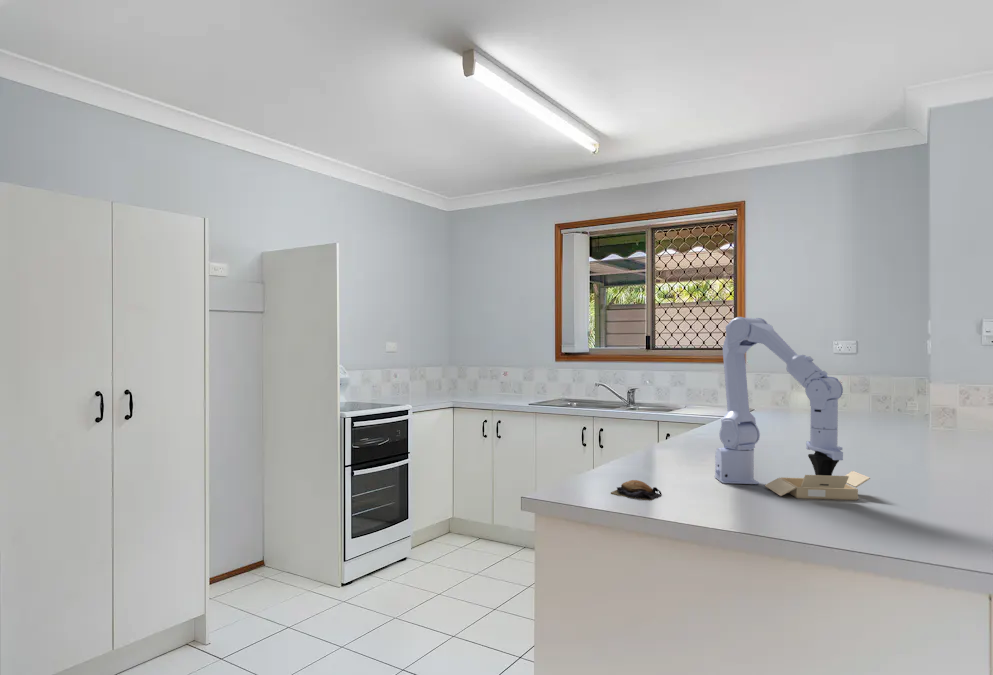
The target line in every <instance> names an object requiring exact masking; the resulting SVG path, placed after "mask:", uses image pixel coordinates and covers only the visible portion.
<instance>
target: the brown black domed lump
mask: <svg viewBox="0 0 993 675" xmlns="http://www.w3.org/2000/svg"><path fill="white" fill-rule="evenodd" d="M610 495H613V496H620V497H624V498H625V497H626V498H630V499H637V500H643V501H653V500H656V499H657V498H660V497H662V491H661V490H660V489H658V488H657V486H655V487H653V488H652V487H651V486H649V484H647V483H645V482H643V481H641V480H637V479H632V480H628V481H625V482H622V483H621V485H620V486H618V487H617V486H616V490H613V491H611V492H610Z"/></svg>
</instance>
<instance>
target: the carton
mask: <svg viewBox="0 0 993 675" xmlns="http://www.w3.org/2000/svg"><path fill="white" fill-rule="evenodd" d="M803 479H804V477H777V478H776V479H774V480H772V481H770V482H768V483H765V484H764V487H765V488H767V489H769V490H770V491H772V492H773V493H774V494H777V495H779V496H780V497H782V496H784V495H786V494H789V495H791V496H792V497H794V498H795V499H804V500H805V499H807V500H839V501H840V500H841V501H842V500H843V501H858V500H859V489H858V488H857V487H853V486H851V485H849V484H847V483H846V485H845V487H844V488H811V487H801V484H802V482H803Z"/></svg>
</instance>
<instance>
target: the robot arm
mask: <svg viewBox="0 0 993 675" xmlns="http://www.w3.org/2000/svg"><path fill="white" fill-rule="evenodd" d="M725 334H726V336H725V338H724V341H723V345H722V358H723V369H724V371H723V372H724V383H725V396H726V398H725V399H726V406H727V407H726V408H727V412H726V413H725V415H724V416H722V419H721V426H720V430H719V439H720V441H721V443H722V445H723V447H717V448H716V450H715V458H714V460H715V461H714V463H715V465H714V466H715V467H714V469H715V470H714V478H715V479H716V480H718V481H719V482H720V483H722V484H739V485H742V484H744V485H760V482H759V481H757V480H756V479H755V478H754V477H755V476H754V475H755V472H754V471H755V470H754V469H755V467H754V465H755V448H756V444H757V443H758V442H759V441H760V437H761V433H760V429H759V428H758V426H757V422H756V417H755V416H754V415H753V414H752V413H751V411H750V403H749V393H748V392H749V389H748V380H747V379H748V378H747V369H746V367H747V366H746V356H745V354H746V353H747V352H748V351H749V350H750V349H751V347H753V346H756V345H757V344H760V345H761V344H762V345H764V346H765V347H766V348H767V349H769V351H771V352H772V353H773V354H774V355H776V356H777V357H778V358H779V359H781V361H783V362H784V363H785V364H786V371H787V372H788V374H789V375H791V376H792V377H793V378H794V380H796V381H797V382H798V384H800V385H801V386H802V387H803V388H804V389H805V390H804V391H805V395H806V396H807V398H808V400H809V406H810V424H809V425H810V431H809V434H810V436H809V439H810V441H808V440H807V441H806V442H805V449H806V450H809V451H813V452H814V453H809V454H807V457H808V459H809V460H810V462H811V464H812V468H813V470H814V475H830V476H833V472H834V470H835V468H836V465H838V463H839V462H840V461H844V452H843V446H839V445H838V432H839V431H838V430H839V428H838V426H839V425H838V424H839V423H838V422H839V418H838V417H839V415H838V414H839V407H838V406H839V399H840V398H841V397H842V395H843V392H844V387H843V385H842V383H841V381H839V379H838V378H837V377H835V376H828V372H827V371H825V370H822V369H821V368H820V367H819V366H818V365H817V364H816V363H814V362H813V361H814V359H813V357H811V356H808V355H805V354H797V353H796V351H795V350H794V349H792V347H791V346H790V345H789V344H788V342H786V341H785V340H784V339H783V338H782V337H781V336H780V335H779V333H777V332H776V330H775V328H774V327H773V325H772V324H770V323H768V322H767V321H766V320H765V319H764V318H761V317H755V318H754V317H753V318H752V317H743V316H737V317H734V318H732V319H731V320H730V321H729V322H728V324H727V325H725ZM820 485H824V486H829V484H820Z"/></svg>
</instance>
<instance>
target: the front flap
mask: <svg viewBox="0 0 993 675" xmlns="http://www.w3.org/2000/svg"><path fill="white" fill-rule="evenodd" d="M803 478H804V479H803V482H802V484H801V487H811V488H844V487H845V485H846V484H847V483H846V482H847V480H848V478H849V476H845V475H832V476H830V475H815V474H805V475H804V477H803ZM820 484H829V486H824V485H820Z"/></svg>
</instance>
